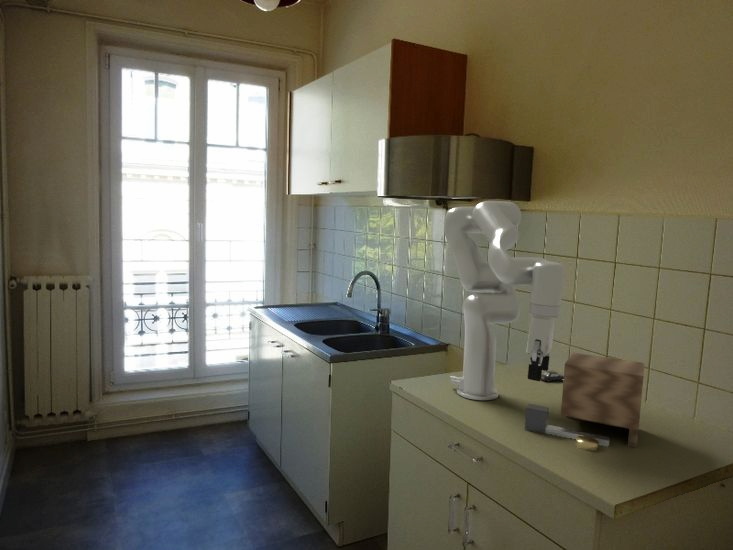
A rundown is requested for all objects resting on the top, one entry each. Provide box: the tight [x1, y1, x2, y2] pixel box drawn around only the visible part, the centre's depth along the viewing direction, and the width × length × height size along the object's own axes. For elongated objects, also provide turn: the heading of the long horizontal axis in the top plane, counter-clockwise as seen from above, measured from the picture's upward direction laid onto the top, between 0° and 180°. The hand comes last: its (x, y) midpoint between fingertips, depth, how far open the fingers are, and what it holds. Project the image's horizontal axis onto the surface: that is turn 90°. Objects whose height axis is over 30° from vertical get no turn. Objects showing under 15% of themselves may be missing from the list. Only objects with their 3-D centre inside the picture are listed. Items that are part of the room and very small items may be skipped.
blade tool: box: [524, 403, 611, 447], centre depth 137 cm, size 20×4×6 cm, turn 62°
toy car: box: [541, 370, 564, 382], centre depth 184 cm, size 4×12×8 cm, turn 106°
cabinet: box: [560, 352, 646, 449], centre depth 141 cm, size 18×14×18 cm
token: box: [575, 436, 599, 451], centre depth 132 cm, size 5×5×2 cm
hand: (538, 374), depth 140 cm, fingers open, 9 cm apart
